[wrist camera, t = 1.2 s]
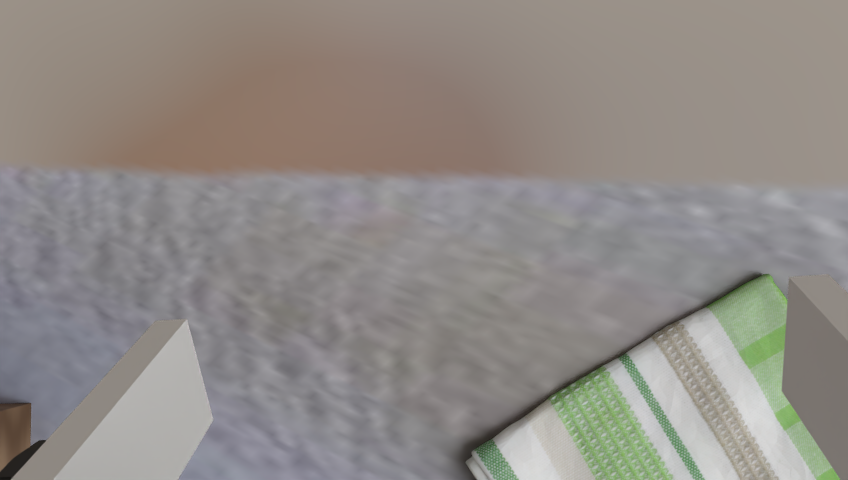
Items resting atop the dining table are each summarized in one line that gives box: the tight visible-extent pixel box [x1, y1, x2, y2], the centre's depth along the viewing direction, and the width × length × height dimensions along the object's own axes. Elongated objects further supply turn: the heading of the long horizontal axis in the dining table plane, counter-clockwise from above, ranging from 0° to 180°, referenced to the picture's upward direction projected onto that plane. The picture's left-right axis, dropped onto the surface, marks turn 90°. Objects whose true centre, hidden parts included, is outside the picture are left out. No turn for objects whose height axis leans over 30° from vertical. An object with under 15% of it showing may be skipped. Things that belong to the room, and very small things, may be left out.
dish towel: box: [466, 274, 840, 480], centre depth 45 cm, size 17×23×4 cm
